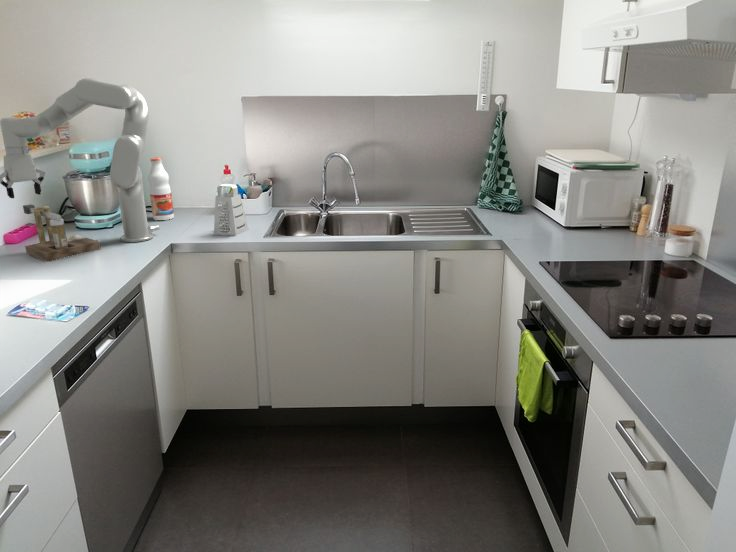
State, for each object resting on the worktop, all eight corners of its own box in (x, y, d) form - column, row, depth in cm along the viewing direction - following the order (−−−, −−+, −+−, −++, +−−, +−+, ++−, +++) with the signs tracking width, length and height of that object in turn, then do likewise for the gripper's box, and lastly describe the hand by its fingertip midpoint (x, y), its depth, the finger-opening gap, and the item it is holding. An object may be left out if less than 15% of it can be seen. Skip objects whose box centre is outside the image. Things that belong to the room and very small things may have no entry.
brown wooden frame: (78, 242, 238) (71, 201, 233) (100, 249, 228) (93, 207, 223) (26, 253, 223) (17, 211, 218) (47, 261, 213) (38, 217, 208)
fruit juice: (165, 215, 281) (157, 156, 272) (178, 217, 276) (171, 157, 267) (148, 219, 274) (140, 158, 264) (162, 222, 269) (154, 160, 259)
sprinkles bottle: (70, 254, 222) (64, 219, 217) (57, 256, 219) (50, 221, 215) (68, 251, 225) (62, 217, 221) (55, 253, 223) (48, 219, 218)
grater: (235, 235, 244) (231, 187, 238) (213, 234, 247) (209, 186, 241) (248, 229, 254) (244, 183, 247) (227, 228, 257) (222, 182, 250)
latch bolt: (32, 211, 233) (30, 204, 232) (63, 220, 218) (62, 212, 217) (24, 213, 231) (22, 205, 230) (55, 222, 215) (54, 214, 214)
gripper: (36, 148, 232) (43, 191, 237) (-13, 152, 219) (-4, 198, 224) (45, 150, 227) (52, 194, 233) (-4, 154, 215) (5, 200, 220)
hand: (25, 196), depth 229 cm, fingers open, 9 cm apart
